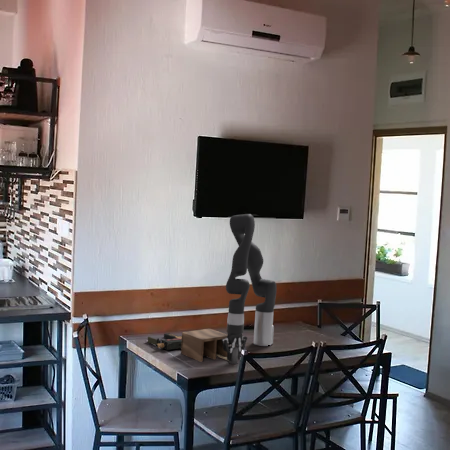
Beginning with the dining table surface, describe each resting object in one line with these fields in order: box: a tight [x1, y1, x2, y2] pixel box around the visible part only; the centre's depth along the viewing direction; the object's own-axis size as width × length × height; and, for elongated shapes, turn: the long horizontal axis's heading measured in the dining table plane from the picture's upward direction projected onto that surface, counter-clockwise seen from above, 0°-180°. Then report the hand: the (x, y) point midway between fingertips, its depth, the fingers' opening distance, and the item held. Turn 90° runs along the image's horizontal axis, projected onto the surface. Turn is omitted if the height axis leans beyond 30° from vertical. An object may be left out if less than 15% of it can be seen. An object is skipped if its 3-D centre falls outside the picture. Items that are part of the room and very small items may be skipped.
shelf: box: [180, 328, 228, 362], centre depth 293 cm, size 17×15×10 cm
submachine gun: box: [147, 332, 182, 351], centre depth 311 cm, size 29×5×25 cm
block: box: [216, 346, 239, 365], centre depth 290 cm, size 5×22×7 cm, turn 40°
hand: (233, 359), depth 283 cm, fingers closed on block, 4 cm apart
